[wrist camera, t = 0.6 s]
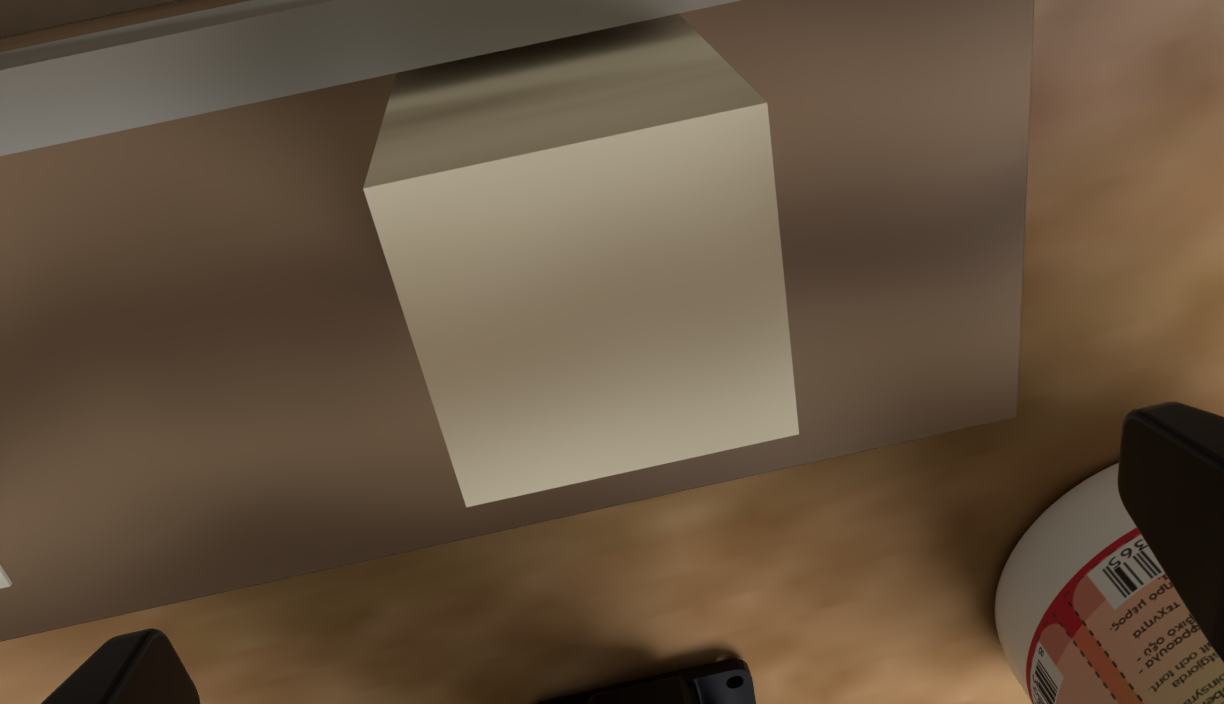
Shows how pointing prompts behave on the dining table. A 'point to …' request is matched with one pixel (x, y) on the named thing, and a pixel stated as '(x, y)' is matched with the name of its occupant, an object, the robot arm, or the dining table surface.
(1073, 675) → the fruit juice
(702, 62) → the beige block
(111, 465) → the walnut board
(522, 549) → the dining table surface
